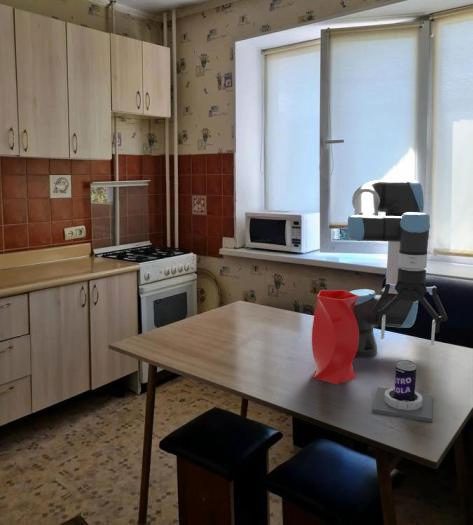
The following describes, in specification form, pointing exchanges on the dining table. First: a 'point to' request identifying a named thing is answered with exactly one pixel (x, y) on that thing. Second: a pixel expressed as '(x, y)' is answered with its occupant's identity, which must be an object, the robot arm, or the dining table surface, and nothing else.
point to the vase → (335, 336)
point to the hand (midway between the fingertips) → (407, 340)
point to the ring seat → (403, 405)
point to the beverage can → (405, 381)
